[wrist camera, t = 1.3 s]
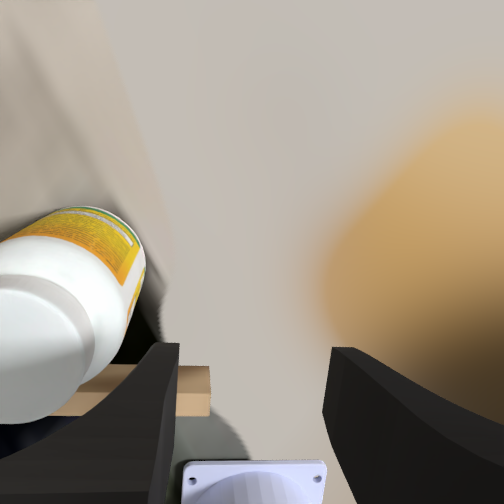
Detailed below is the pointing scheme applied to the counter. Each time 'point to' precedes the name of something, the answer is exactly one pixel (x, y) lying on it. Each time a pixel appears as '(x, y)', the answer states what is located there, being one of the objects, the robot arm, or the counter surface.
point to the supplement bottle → (63, 306)
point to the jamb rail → (96, 389)
